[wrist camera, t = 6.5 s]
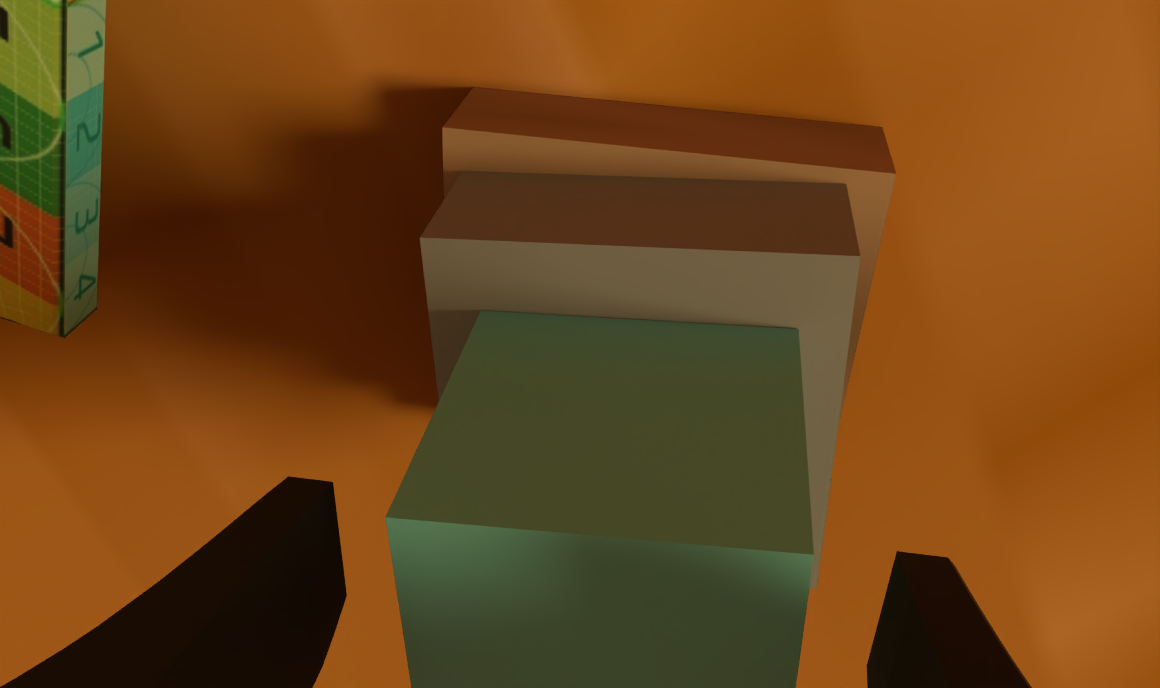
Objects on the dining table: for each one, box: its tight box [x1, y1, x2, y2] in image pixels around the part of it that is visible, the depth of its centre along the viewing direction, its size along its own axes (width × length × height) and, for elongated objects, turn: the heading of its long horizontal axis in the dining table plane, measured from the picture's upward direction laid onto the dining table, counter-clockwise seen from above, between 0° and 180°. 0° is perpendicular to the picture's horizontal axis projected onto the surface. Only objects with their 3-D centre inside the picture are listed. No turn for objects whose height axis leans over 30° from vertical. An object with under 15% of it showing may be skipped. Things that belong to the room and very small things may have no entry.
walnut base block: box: [442, 87, 896, 426], centre depth 19 cm, size 7×7×2 cm
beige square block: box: [420, 171, 860, 589], centre depth 17 cm, size 6×6×2 cm
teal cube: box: [386, 310, 814, 688], centre depth 14 cm, size 4×4×4 cm
